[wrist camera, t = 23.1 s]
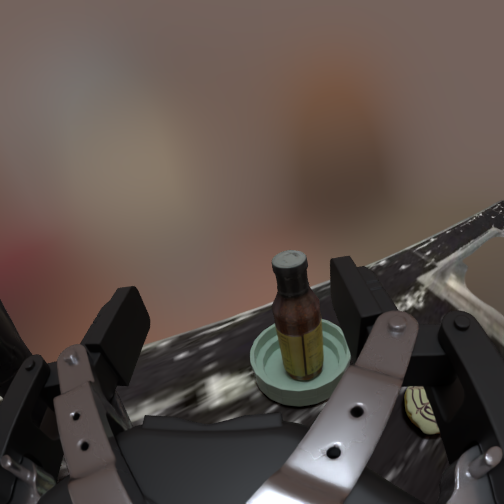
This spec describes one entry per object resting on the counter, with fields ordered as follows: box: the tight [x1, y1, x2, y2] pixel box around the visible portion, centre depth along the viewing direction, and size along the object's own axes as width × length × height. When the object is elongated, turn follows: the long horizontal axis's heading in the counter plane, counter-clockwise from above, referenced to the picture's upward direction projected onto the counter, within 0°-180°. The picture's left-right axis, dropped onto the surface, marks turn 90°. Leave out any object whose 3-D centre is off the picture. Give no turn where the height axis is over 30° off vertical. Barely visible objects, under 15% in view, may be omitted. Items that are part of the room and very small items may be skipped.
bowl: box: [250, 319, 351, 407], centre depth 40 cm, size 15×15×5 cm
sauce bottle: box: [272, 250, 324, 380], centre depth 36 cm, size 6×6×20 cm
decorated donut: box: [404, 386, 440, 434], centre depth 28 cm, size 10×11×4 cm
